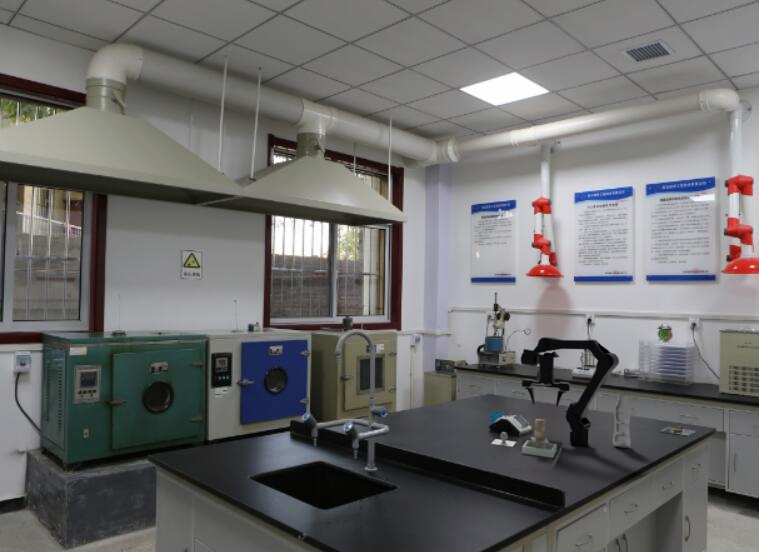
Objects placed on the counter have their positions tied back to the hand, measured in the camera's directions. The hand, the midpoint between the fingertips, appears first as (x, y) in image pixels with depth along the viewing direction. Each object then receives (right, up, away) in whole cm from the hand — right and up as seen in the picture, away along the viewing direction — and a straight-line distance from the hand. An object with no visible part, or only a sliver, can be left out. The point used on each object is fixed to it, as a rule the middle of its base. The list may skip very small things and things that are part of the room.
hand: (545, 405), depth 231 cm
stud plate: (-21, -12, -18) cm, 30 cm away
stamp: (-11, -11, -29) cm, 32 cm away
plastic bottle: (+26, -14, -11) cm, 32 cm away
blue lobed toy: (-16, -13, +12) cm, 24 cm away
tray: (-11, -11, -29) cm, 33 cm away
